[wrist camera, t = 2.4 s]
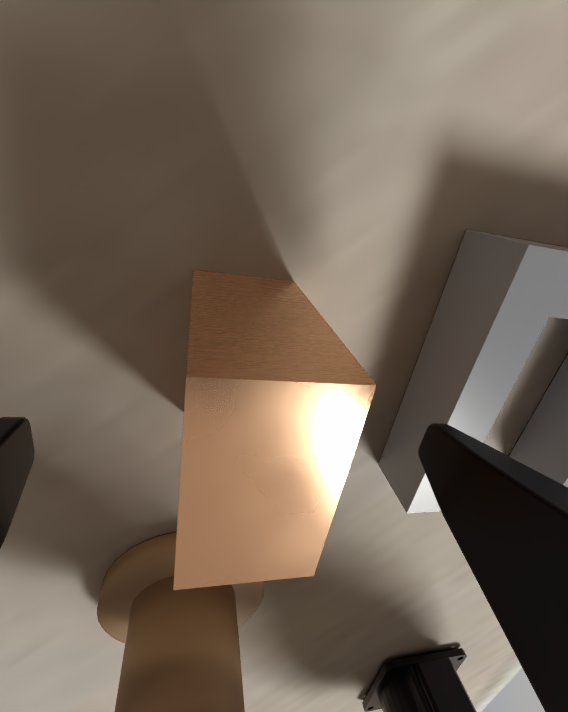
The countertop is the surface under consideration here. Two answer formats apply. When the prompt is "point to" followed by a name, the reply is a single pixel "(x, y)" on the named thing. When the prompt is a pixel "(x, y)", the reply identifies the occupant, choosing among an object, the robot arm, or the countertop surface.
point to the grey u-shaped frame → (484, 360)
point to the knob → (174, 633)
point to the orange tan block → (262, 432)
